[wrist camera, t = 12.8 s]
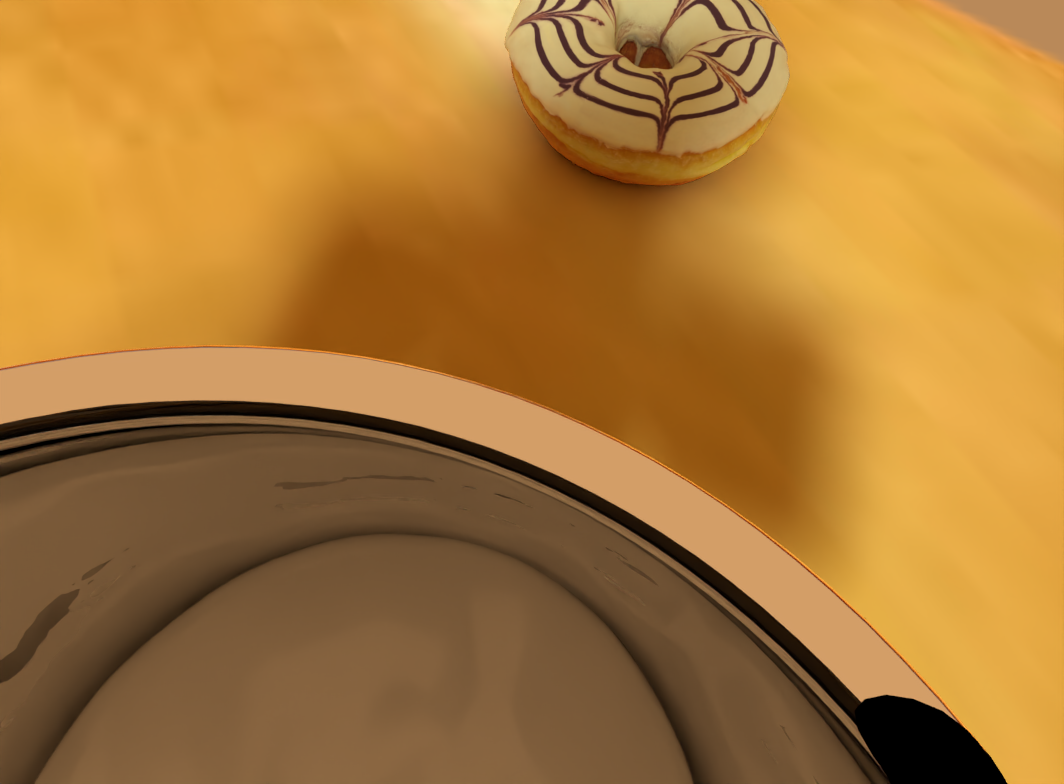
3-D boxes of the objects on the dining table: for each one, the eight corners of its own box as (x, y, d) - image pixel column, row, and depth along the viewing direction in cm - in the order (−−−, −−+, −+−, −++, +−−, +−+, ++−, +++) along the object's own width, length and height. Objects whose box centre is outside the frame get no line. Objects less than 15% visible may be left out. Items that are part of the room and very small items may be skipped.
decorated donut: (622, -10, 28) (643, -103, 24) (802, 121, 25) (854, 39, 22) (456, 87, 24) (452, -5, 21) (645, 250, 22) (677, 176, 18)
